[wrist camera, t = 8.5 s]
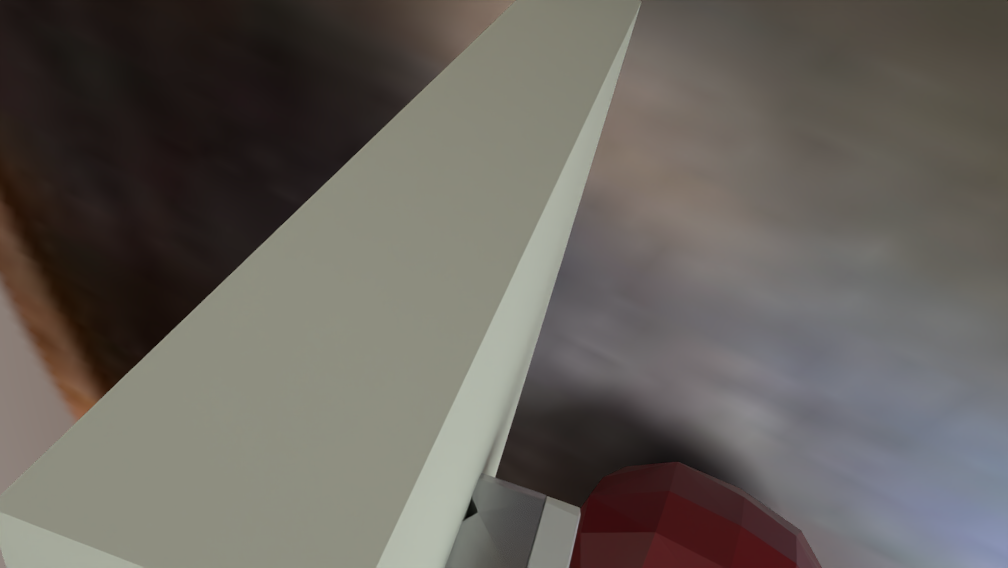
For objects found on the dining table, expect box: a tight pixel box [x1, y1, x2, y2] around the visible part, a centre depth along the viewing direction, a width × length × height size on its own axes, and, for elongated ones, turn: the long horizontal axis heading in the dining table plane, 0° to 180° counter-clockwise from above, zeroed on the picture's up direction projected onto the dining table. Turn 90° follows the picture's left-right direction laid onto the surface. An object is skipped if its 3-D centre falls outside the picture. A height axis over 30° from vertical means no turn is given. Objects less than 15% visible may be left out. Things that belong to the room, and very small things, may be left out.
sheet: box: [0, 0, 642, 568], centre depth 11 cm, size 12×2×11 cm, turn 168°
